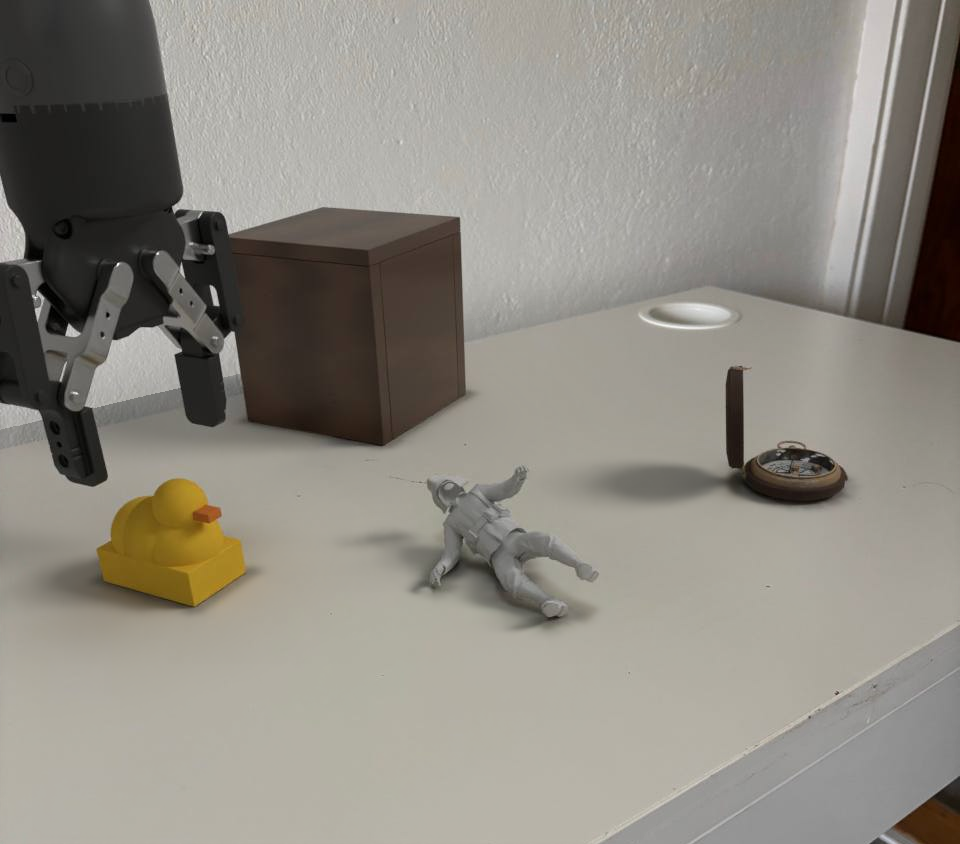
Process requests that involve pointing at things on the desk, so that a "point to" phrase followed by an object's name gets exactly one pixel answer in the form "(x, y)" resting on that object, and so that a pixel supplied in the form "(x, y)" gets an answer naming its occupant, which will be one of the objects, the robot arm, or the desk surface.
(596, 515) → the desk surface
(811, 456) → the compass
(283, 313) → the brown wooden box
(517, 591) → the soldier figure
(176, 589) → the rubber duck
